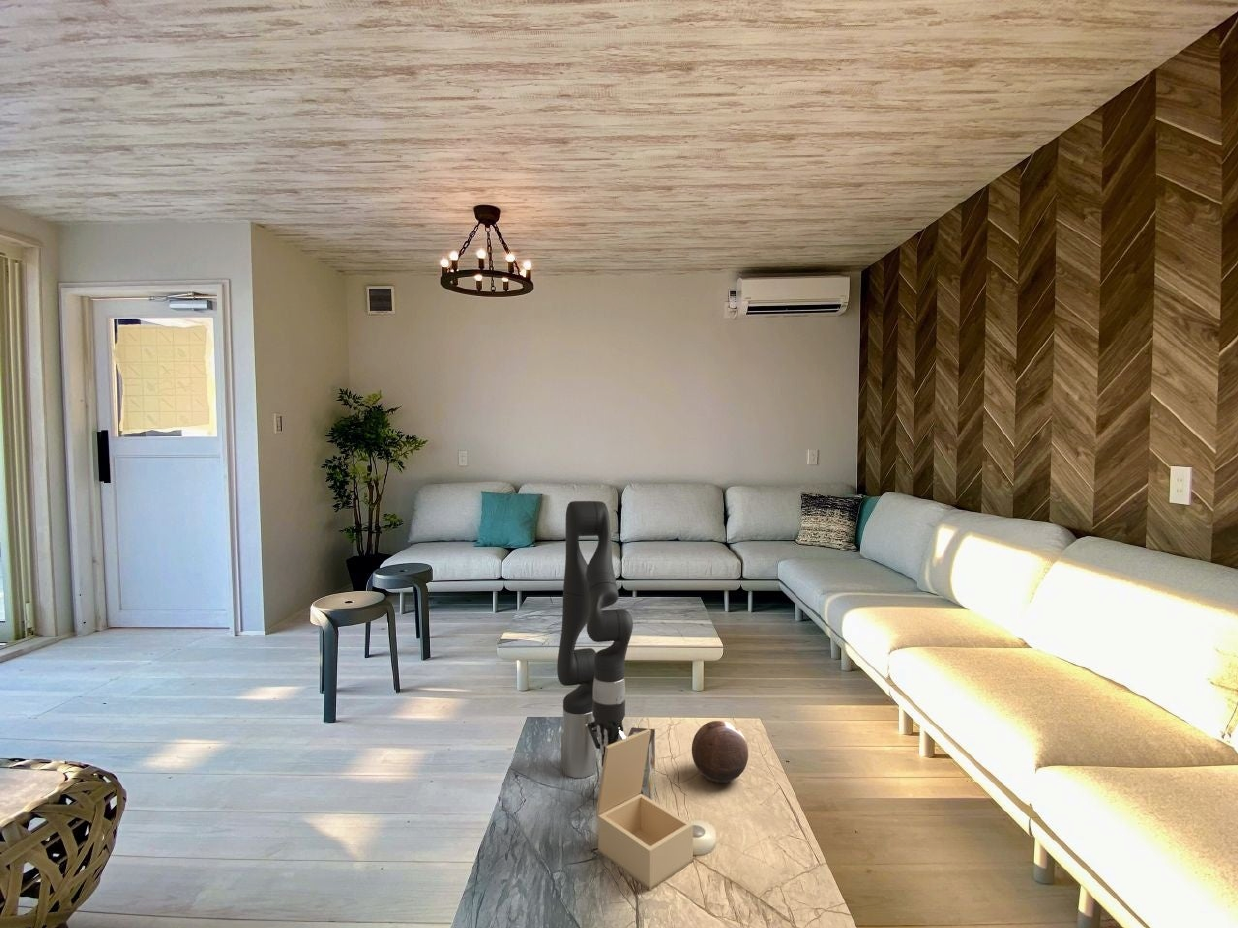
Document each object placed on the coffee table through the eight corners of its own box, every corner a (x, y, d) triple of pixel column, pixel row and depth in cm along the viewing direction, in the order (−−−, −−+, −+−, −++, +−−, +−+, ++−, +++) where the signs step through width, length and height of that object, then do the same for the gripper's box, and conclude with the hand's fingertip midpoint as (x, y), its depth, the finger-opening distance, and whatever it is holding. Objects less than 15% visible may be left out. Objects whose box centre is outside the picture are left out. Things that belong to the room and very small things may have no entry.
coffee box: (630, 786, 159) (631, 725, 159) (655, 789, 158) (655, 728, 158) (624, 806, 150) (624, 742, 150) (649, 809, 149) (650, 744, 149)
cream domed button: (667, 840, 137) (667, 829, 137) (693, 824, 143) (693, 814, 143) (697, 860, 130) (697, 849, 130) (723, 842, 136) (724, 831, 136)
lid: (598, 814, 133) (595, 811, 134) (640, 792, 142) (638, 790, 142) (608, 748, 131) (605, 746, 131) (650, 730, 139) (648, 728, 140)
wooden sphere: (758, 788, 159) (759, 731, 159) (707, 798, 154) (708, 739, 154) (730, 761, 173) (730, 708, 173) (682, 769, 168) (682, 715, 168)
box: (598, 851, 133) (598, 815, 133) (640, 827, 142) (640, 793, 142) (649, 890, 121) (650, 850, 121) (692, 861, 130) (693, 824, 130)
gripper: (578, 691, 143) (577, 764, 143) (615, 709, 133) (614, 788, 133) (602, 683, 148) (601, 754, 148) (640, 700, 138) (639, 776, 138)
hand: (608, 770), depth 141 cm, fingers closed
